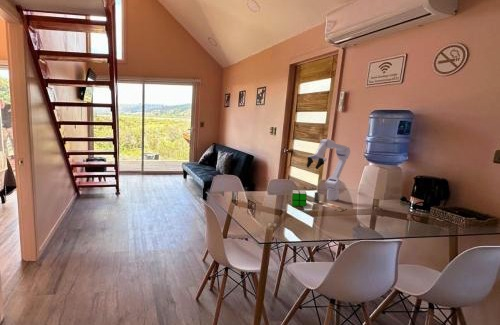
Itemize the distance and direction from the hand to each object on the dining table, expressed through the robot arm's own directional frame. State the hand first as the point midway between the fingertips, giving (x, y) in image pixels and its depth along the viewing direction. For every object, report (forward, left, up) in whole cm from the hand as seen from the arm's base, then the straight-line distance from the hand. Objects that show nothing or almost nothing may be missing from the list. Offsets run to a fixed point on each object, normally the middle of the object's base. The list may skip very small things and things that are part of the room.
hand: (311, 167), depth 212 cm
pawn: (-10, -2, -27) cm, 29 cm away
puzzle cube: (+4, -7, -29) cm, 30 cm away
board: (-10, +8, -28) cm, 31 cm away
